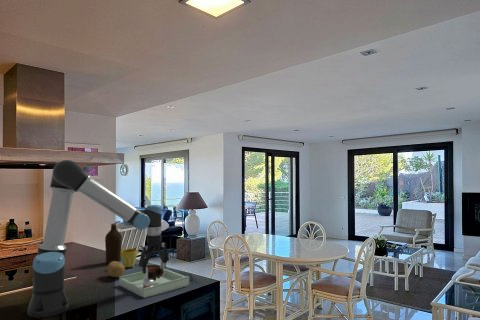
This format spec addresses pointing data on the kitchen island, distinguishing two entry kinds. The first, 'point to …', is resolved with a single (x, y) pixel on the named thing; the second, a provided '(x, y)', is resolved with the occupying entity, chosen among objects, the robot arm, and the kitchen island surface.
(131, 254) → the plant pot
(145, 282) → the tin
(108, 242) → the olive oil
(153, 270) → the pottery mug
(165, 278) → the tray
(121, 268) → the potato
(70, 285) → the kitchen island surface
